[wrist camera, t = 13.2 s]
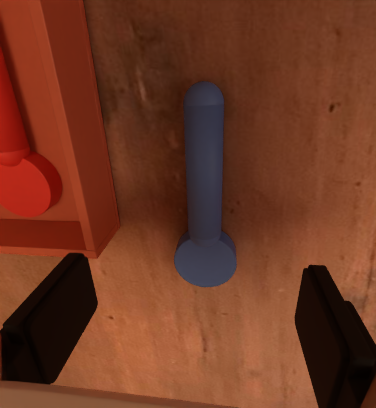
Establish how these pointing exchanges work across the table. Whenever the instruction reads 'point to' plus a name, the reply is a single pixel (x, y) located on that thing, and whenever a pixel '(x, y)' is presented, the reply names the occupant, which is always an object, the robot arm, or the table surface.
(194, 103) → the blue spoon
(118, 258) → the table surface
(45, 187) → the red spoon
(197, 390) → the table surface
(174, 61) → the table surface
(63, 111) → the red bin
